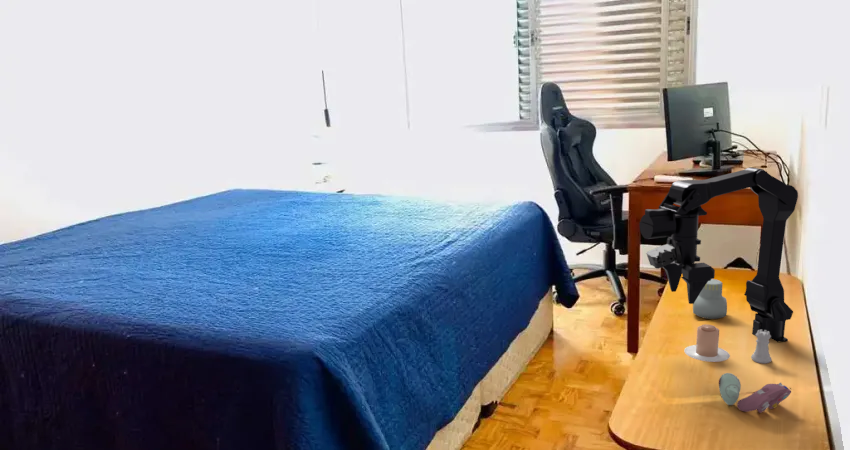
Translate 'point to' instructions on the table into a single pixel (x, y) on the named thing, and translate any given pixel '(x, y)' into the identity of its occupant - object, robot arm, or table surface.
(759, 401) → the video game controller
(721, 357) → the coaster
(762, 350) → the rook chess piece
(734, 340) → the table surface
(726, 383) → the robot head
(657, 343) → the table surface
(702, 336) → the cup
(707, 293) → the air freshener
